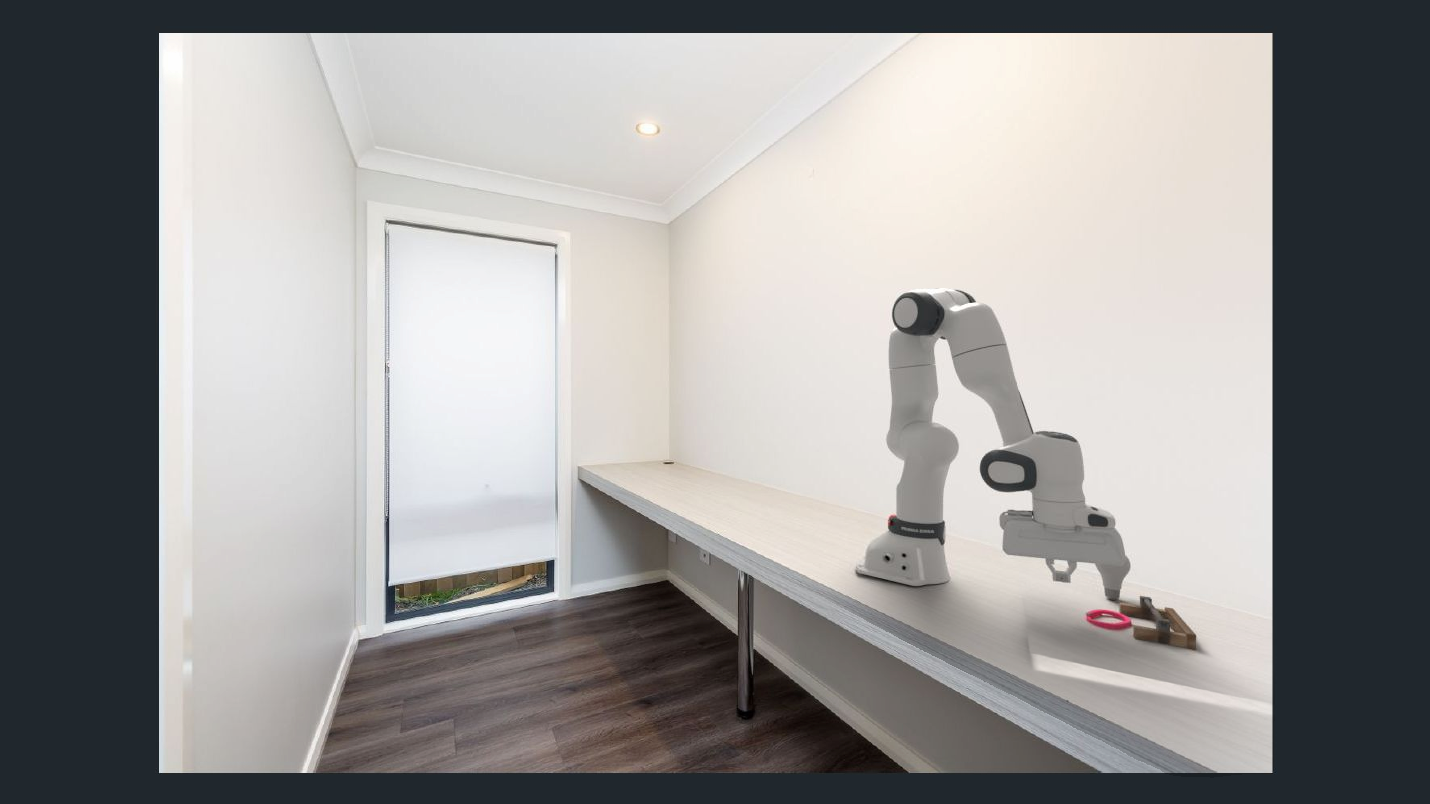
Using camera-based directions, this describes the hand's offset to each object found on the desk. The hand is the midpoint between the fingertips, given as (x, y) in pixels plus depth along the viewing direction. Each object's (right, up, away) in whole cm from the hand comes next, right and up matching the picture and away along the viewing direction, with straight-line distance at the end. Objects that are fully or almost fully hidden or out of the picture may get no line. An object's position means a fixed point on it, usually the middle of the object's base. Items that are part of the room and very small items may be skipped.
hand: (1061, 581), depth 100 cm
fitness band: (+7, -7, -3) cm, 10 cm away
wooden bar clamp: (+12, -7, -6) cm, 15 cm away
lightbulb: (+16, -7, +7) cm, 19 cm away
